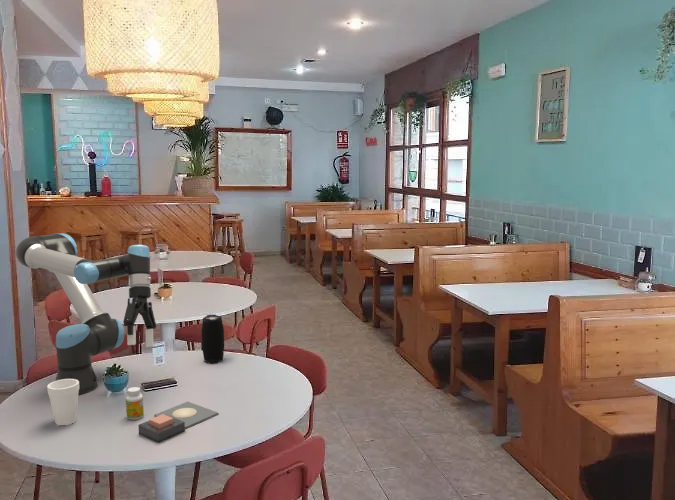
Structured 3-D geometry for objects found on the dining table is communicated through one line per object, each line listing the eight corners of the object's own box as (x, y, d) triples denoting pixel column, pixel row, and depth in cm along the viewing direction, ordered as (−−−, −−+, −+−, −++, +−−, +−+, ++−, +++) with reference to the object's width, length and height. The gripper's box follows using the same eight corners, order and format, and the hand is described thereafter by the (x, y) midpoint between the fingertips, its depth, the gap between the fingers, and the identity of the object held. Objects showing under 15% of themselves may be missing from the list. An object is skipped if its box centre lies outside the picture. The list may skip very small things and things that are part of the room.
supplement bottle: (123, 419, 201) (122, 391, 199) (131, 413, 206) (130, 385, 204) (139, 420, 200) (137, 392, 198) (146, 413, 205) (145, 386, 204)
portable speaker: (228, 360, 259) (227, 316, 256) (210, 366, 252) (209, 320, 249) (216, 356, 265) (215, 312, 262) (198, 361, 258) (196, 317, 255)
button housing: (138, 433, 190) (138, 424, 190) (165, 422, 198) (164, 414, 198) (158, 442, 184) (158, 433, 184) (184, 430, 192) (184, 422, 192)
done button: (149, 425, 190) (149, 419, 190) (163, 419, 194) (163, 414, 194) (159, 430, 187) (159, 423, 187) (173, 424, 191) (173, 418, 191)
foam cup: (69, 429, 194) (66, 390, 192) (43, 426, 196) (40, 388, 194) (87, 416, 203) (84, 379, 201) (62, 414, 205) (60, 377, 203)
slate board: (154, 416, 203) (154, 414, 203) (187, 403, 214) (187, 401, 214) (185, 429, 194) (185, 426, 193) (218, 414, 205) (218, 412, 205)
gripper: (132, 280, 207) (133, 342, 203) (164, 290, 231) (166, 346, 227) (112, 283, 208) (113, 345, 204) (145, 293, 232) (147, 348, 228)
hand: (140, 346), depth 215 cm, fingers open, 13 cm apart
